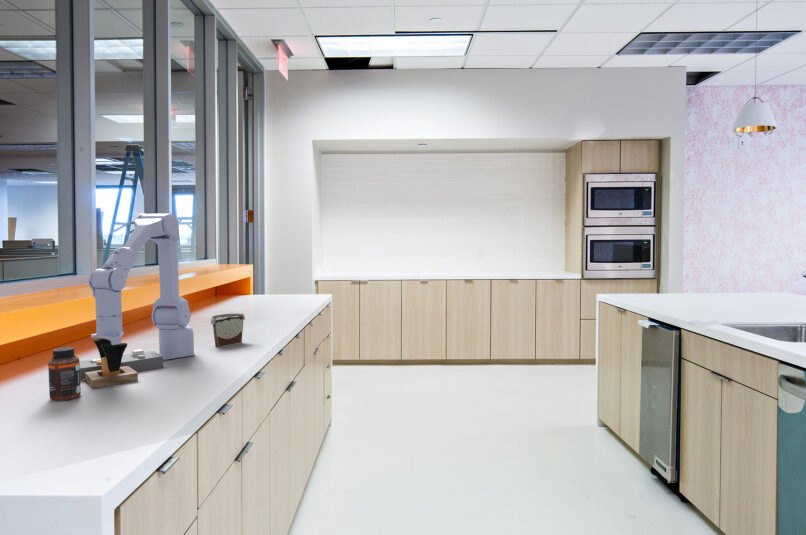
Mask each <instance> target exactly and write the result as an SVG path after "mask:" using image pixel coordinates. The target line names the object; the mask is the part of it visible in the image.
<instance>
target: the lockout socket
mask: <svg viewBox="0 0 806 535" xmlns="http://www.w3.org/2000/svg"><path fill="white" fill-rule="evenodd" d="M84 380H85V382H86V383H87V384H88V385H89V386H90V387H91V389H97V388H103V387H104V388H105V387H108V386H109V387H110V386H115V385H121V384H122V385H123V384H126V383H131V382H138V381H139V373H138V371H134V370H133V369H132V368H131V367H129V366H122V367H120V374H115V375H109V376H103V377H102V370H95V371H89V372H85V379H84Z"/></svg>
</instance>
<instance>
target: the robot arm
mask: <svg viewBox="0 0 806 535" xmlns="http://www.w3.org/2000/svg"><path fill="white" fill-rule="evenodd" d="M179 225H180V224H179V220H178V219H177V217H176V216H175V215H174V214H173V213H170V212H169V213H139V214H138V216H137V218H136V219H135V220H134V230H133V231H132V233H131V235H130V236H129V237H128V239H127V241H126V242H125V244H124V246H121V247H116V248H115V249H114V250H113V251H112V254H111V255H110V256H109V257H108V258H107V261H106V262H104V264H103V265H102V266H101V268H97V269H95V270H94V271H92V273H90V276H89V280H88V286H89V288H90V289H91V290H92V297H93V298H94V300H95V302H94V303H95V322H96V323H95V325H96V326H95V329H96V331H95V332H96V333H92V334H90V337H91V338H94V339H93V340H92V341H93V343H94V344H95V346H96V348H97V350H98V353H99V357H100V358H102V357H105V356H106V360H107V365H108V369H109V371H110V372H115V371H119V370H120V366H121V360H122V356H123V355H124V353H125V351H126V349H127V347H128V342H122V337H123V336H124V331H123V311H122V310H123V308H122V307H123V306H122V305H123V304H122V290H123V289H124V288H125V287H126V285H127V283H128V282H127V279H128V277H129V272H130V271H131V269H132V268H133V266H134V265H135V263H137V261H138V256H137V254H138V252H139V251H140V250H141V249H142V248H143V246H144V245H145V244H146V243H147V242H148V241H149V240H150V241H153V242H154V243H155V244H156V245H157V246H158V249H157V250H158V268H159V270H158V272H159V298H158V299H156V300H155V301H154V302H153V304H152V305H153V308H152V313H151V321H152V323H153V325H154V326H155V327H156V329H158V344H159V345H158V346H159V348H158V351H159V353H158V354H160V355H161V356H163V361H165V360H170V359H171V360H172V359H178V358H187V357H192V356H195V355H196V354H195V346H194V345H195V341H194V340H195V338H194V331H193V328H192V326H190V325H189V323H190V321H191V316H192V315H191V313H192V312H191V311H190V307H189V301H188V300H186V299H185V298H184V297H182V296H181V295H180V280H179V278H180V277H179V276H180V275H179V256H178V254H179V251H178V241H179V240H180V229H179V228H180V226H179ZM95 338H96V339H95ZM101 362H102V360H101Z"/></svg>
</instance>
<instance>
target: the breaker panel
mask: <svg viewBox="0 0 806 535" xmlns="http://www.w3.org/2000/svg"><path fill="white" fill-rule="evenodd" d="M79 362H80V381H82V380H85V372H89V371H95V370H102V362H101V361H97V362H96V363H92V359H87V360H86V359H85V360H79ZM122 366H129V367H131V368H132V369H133V370H134V371H136V372H140V371H145V370H146V371H147V370H153V369H158V368H163V367H164V360H163V356H161V355H160V354H159V353H158V352H156V351H154V350H151V351H144V355H139V356H138V357H134V358H133V357H132V353H129V354H123V356H122V360H121V366H120V367H122Z"/></svg>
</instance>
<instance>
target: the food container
mask: <svg viewBox="0 0 806 535" xmlns="http://www.w3.org/2000/svg"><path fill="white" fill-rule="evenodd" d="M245 320H246V318H245V314H244V313H222V314H217V315H215V314H214V315H212V317H211V319H210V325H212V330H213V338H214V339H213V340H214V346H215V347H216V348H217V349H218V348H222V347H223V348H224V347H227V346H228V347H229V346H233V345H238V343H239V344H242V343H243V334H244V333H243V332H244V331H243V330H244V329H243V328H244V321H245Z"/></svg>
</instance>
